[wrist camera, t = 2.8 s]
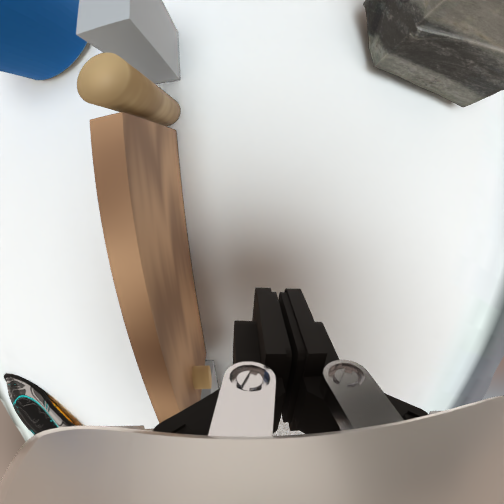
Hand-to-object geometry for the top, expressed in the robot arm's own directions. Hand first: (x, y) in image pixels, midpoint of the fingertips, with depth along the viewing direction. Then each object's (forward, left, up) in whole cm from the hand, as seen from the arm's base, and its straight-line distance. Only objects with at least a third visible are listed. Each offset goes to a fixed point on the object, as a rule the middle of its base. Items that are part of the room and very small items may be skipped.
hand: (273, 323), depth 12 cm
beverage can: (+17, +13, -9) cm, 23 cm away
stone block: (+15, -12, -9) cm, 21 cm away
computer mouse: (-16, +24, -10) cm, 30 cm away
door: (+9, +5, -9) cm, 14 cm away
